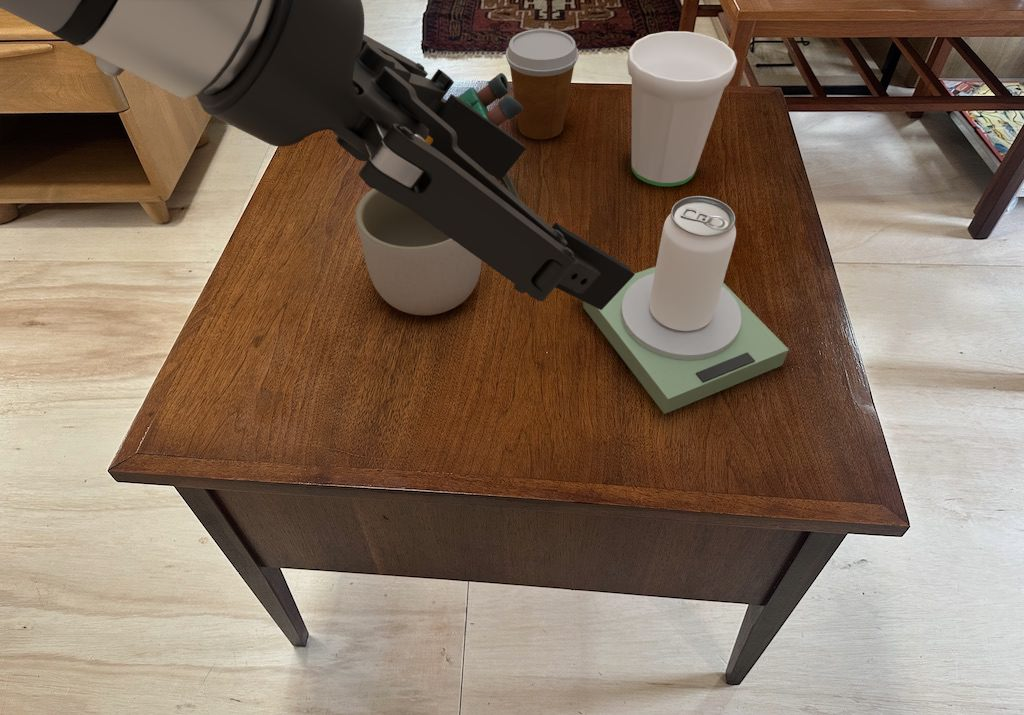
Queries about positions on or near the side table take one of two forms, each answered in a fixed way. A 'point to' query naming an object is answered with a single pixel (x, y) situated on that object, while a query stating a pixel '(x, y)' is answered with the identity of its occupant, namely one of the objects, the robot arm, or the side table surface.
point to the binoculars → (496, 115)
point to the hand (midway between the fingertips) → (558, 219)
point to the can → (692, 262)
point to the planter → (413, 258)
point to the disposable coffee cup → (541, 79)
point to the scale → (686, 345)
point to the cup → (674, 102)
